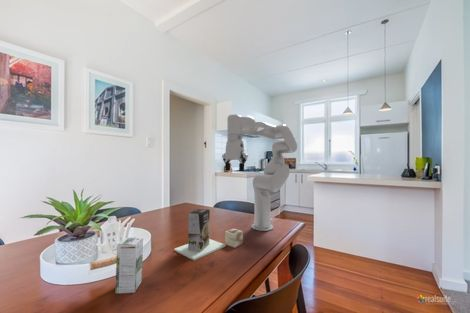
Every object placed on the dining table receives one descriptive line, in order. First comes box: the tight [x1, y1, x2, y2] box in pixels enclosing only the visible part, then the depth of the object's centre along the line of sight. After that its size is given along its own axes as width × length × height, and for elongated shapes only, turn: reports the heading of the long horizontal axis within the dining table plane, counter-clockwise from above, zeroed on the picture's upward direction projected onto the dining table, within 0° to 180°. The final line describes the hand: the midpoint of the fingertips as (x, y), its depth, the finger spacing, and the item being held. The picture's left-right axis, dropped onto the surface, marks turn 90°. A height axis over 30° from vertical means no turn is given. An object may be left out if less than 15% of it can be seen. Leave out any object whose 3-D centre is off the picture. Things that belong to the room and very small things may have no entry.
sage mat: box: [173, 238, 226, 261], centre depth 92 cm, size 18×14×1 cm
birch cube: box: [224, 228, 244, 248], centre depth 98 cm, size 6×6×6 cm
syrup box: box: [114, 237, 144, 295], centre depth 64 cm, size 6×6×14 cm
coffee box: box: [187, 208, 211, 252], centre depth 92 cm, size 9×6×16 cm
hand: (234, 170), depth 108 cm, fingers open, 9 cm apart
